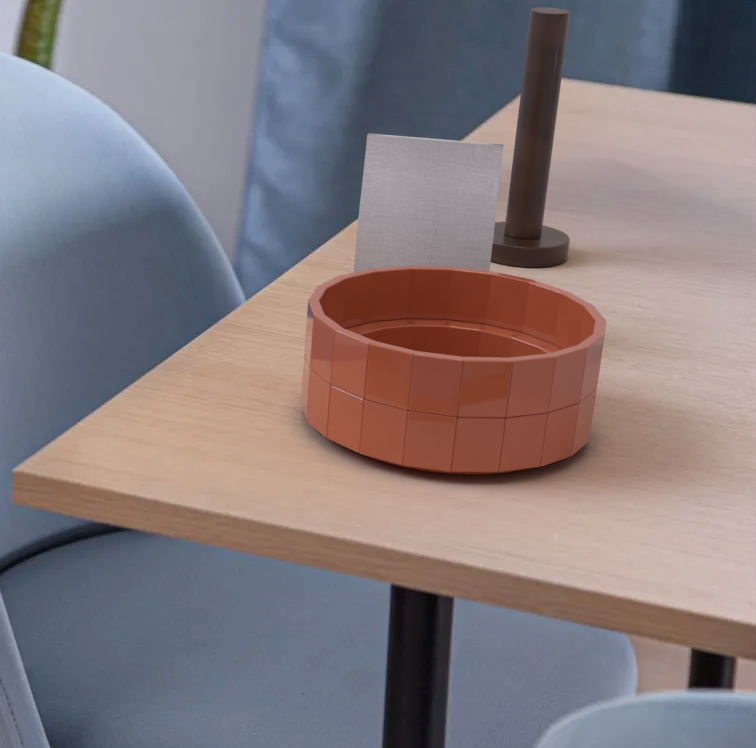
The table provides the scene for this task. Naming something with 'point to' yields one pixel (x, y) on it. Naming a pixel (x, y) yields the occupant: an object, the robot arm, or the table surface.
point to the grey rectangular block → (427, 203)
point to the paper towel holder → (535, 149)
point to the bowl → (451, 368)
